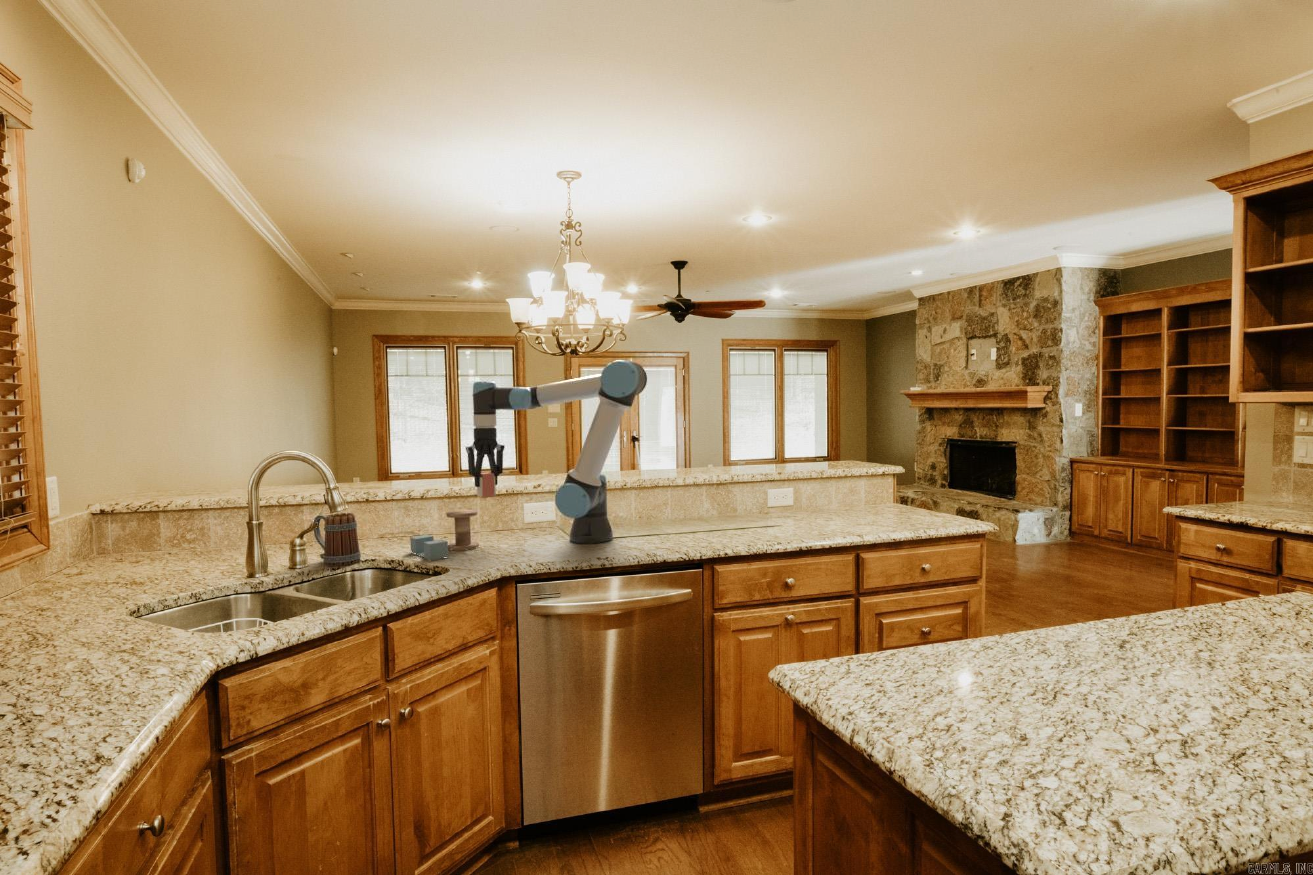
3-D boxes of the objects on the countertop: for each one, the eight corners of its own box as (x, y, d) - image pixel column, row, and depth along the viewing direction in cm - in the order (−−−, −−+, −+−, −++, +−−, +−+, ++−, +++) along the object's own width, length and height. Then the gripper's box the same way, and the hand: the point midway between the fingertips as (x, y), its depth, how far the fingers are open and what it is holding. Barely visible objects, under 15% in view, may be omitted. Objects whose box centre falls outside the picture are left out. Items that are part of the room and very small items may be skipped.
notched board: (448, 557, 215) (447, 541, 215) (429, 560, 211) (429, 544, 211) (428, 549, 227) (428, 534, 227) (410, 552, 223) (410, 537, 223)
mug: (368, 559, 214) (366, 512, 214) (343, 567, 205) (340, 518, 204) (329, 557, 220) (327, 511, 219) (303, 564, 210) (300, 516, 209)
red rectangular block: (494, 496, 231) (494, 473, 231) (483, 497, 228) (483, 474, 228) (488, 495, 234) (488, 472, 234) (478, 496, 231) (477, 473, 231)
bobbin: (483, 547, 229) (482, 512, 228) (455, 552, 223) (454, 515, 222) (470, 542, 237) (469, 508, 236) (443, 547, 230) (441, 512, 230)
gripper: (502, 426, 238) (503, 492, 240) (456, 427, 227) (457, 496, 228) (513, 426, 233) (514, 494, 234) (466, 428, 221) (467, 499, 223)
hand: (486, 495), depth 231 cm, fingers closed on red rectangular block, 4 cm apart
